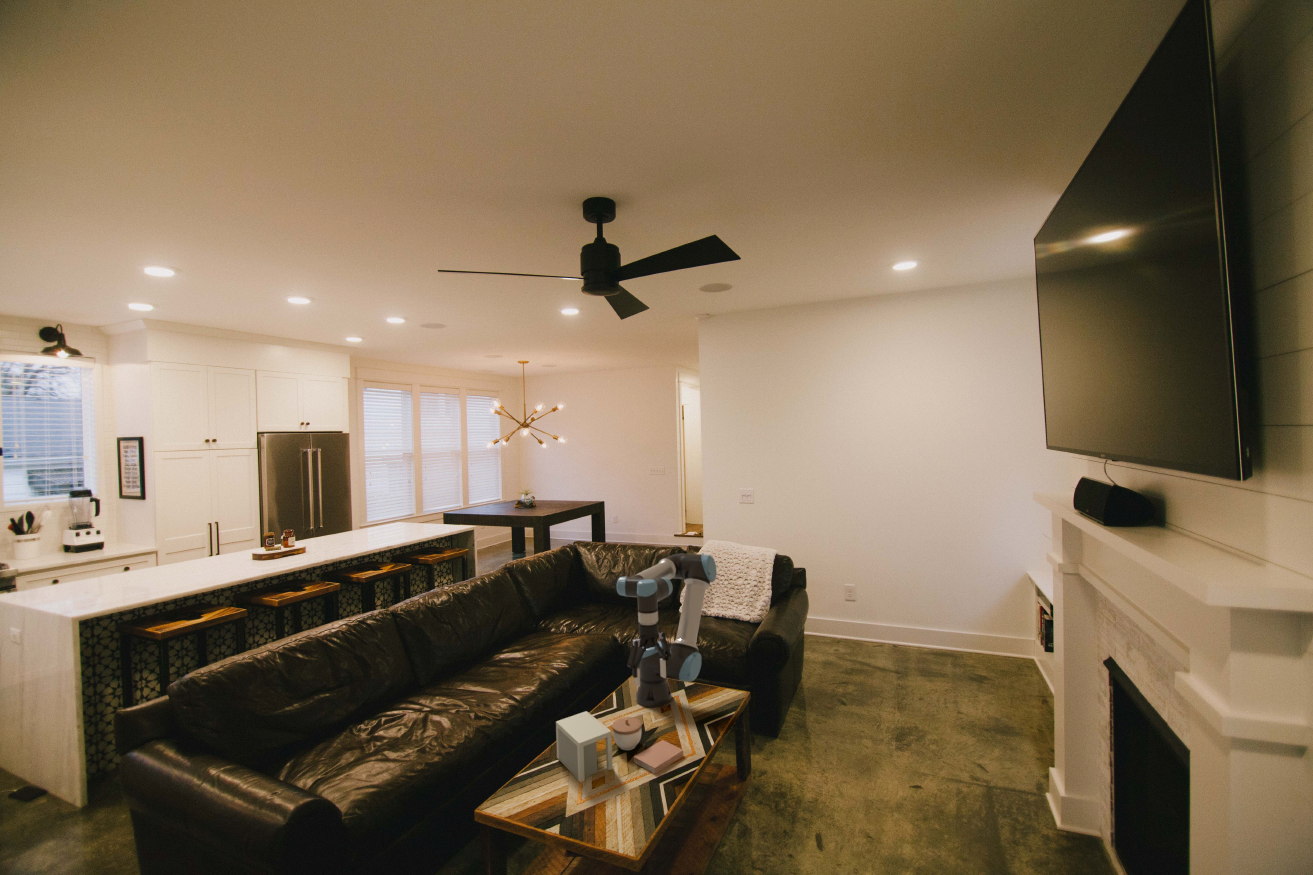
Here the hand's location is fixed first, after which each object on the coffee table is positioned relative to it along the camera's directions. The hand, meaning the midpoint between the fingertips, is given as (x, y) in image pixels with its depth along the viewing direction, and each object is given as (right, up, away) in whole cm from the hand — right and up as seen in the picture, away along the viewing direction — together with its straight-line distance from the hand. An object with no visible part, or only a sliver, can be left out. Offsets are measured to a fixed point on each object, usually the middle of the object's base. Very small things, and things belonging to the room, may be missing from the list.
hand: (650, 681), depth 201 cm
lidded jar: (-8, -20, -7) cm, 23 cm away
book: (+3, -20, -16) cm, 26 cm away
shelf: (-23, -20, -17) cm, 35 cm away
